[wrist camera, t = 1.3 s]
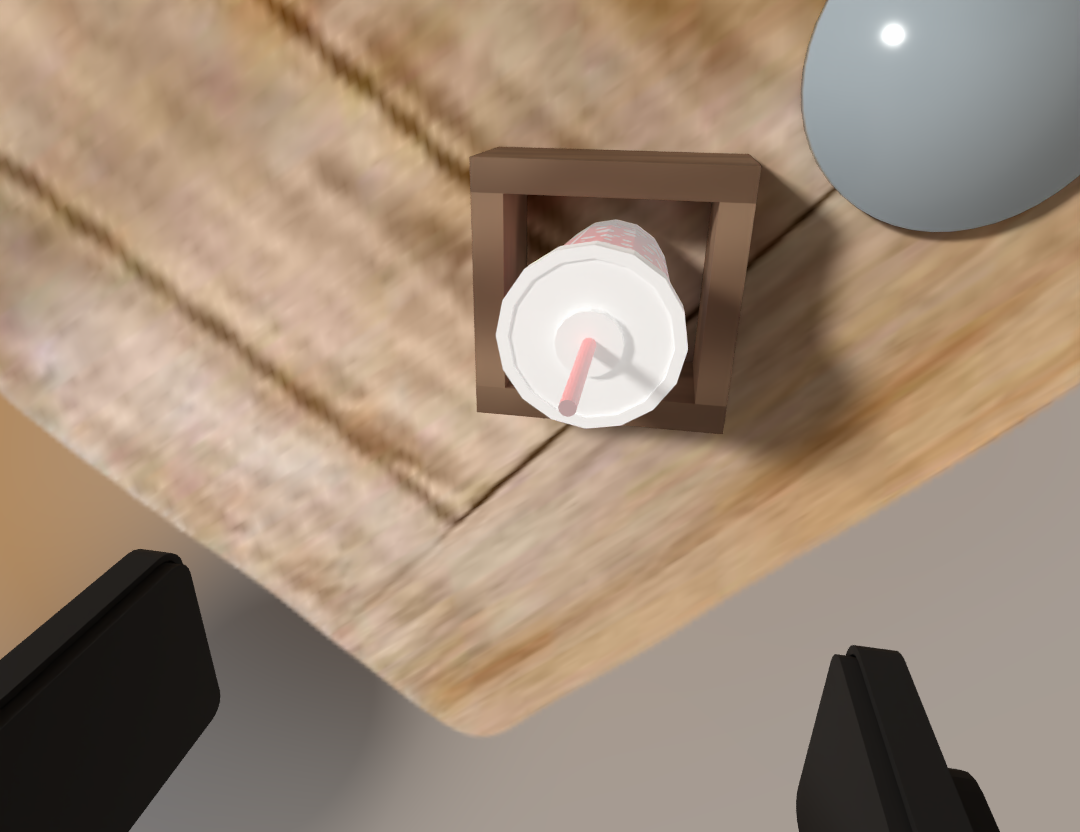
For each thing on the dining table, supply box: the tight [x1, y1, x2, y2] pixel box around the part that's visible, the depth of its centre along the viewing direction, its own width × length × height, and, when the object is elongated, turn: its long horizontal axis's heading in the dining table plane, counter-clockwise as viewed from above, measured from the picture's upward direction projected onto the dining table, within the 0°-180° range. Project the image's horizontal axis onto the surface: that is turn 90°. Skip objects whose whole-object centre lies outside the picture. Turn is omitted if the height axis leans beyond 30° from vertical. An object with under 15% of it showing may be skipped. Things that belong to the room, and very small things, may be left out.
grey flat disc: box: [801, 0, 1080, 232], centre depth 24 cm, size 11×11×1 cm
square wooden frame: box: [470, 147, 762, 434], centre depth 28 cm, size 10×10×4 cm
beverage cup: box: [496, 219, 688, 429], centre depth 24 cm, size 6×6×14 cm
